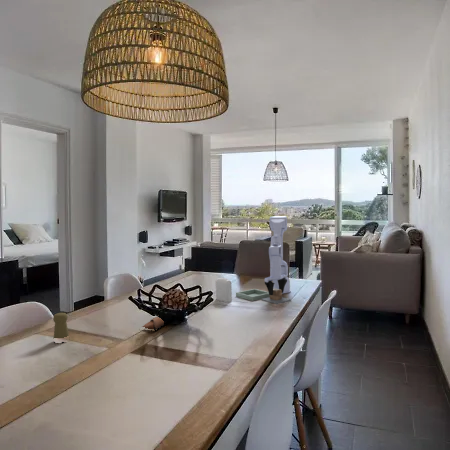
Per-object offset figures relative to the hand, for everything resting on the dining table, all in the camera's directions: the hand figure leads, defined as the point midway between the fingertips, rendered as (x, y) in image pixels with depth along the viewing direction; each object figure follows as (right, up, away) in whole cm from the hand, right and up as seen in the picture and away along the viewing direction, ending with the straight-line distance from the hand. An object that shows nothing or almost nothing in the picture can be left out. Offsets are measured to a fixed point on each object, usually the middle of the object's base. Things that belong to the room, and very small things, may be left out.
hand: (276, 293), depth 208 cm
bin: (-11, -4, +10) cm, 15 cm away
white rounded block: (-28, -5, +4) cm, 28 cm away
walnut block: (0, -3, 0) cm, 3 cm away
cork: (-91, -9, -54) cm, 106 cm away
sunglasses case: (-57, -8, -36) cm, 67 cm away
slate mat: (0, -4, 0) cm, 4 cm away
